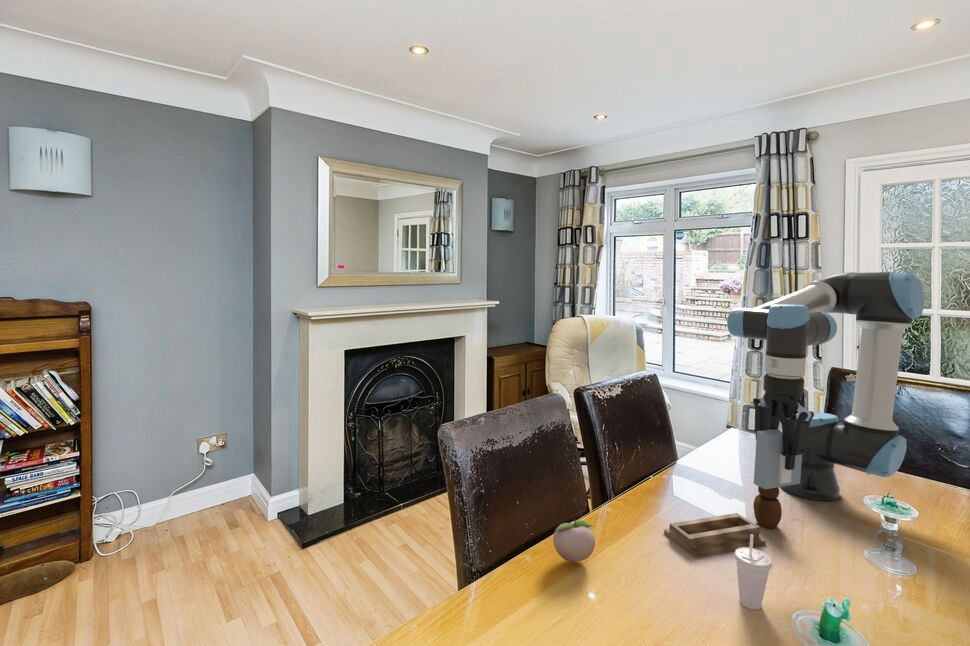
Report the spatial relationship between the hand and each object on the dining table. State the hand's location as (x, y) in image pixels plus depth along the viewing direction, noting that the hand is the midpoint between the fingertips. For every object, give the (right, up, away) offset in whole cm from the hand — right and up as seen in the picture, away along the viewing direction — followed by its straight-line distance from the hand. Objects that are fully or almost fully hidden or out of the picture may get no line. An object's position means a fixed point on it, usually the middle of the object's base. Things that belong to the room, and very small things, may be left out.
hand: (777, 478), depth 108 cm
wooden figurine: (+7, -17, +16) cm, 25 cm away
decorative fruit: (-45, -19, -1) cm, 49 cm away
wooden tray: (-10, -18, +10) cm, 22 cm away
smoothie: (-13, -20, -14) cm, 28 cm away
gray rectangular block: (0, -1, 0) cm, 1 cm away
